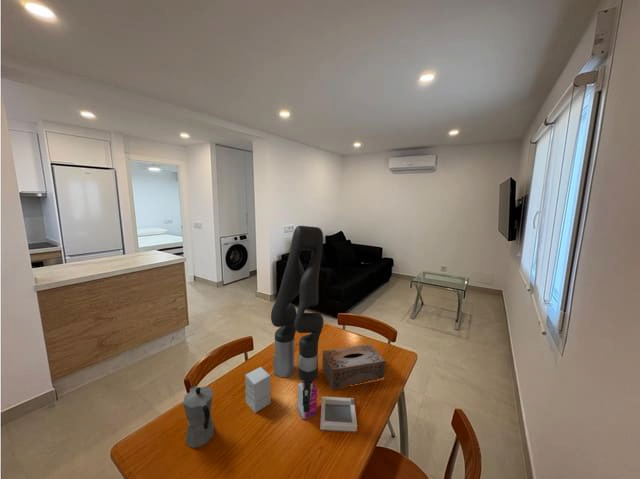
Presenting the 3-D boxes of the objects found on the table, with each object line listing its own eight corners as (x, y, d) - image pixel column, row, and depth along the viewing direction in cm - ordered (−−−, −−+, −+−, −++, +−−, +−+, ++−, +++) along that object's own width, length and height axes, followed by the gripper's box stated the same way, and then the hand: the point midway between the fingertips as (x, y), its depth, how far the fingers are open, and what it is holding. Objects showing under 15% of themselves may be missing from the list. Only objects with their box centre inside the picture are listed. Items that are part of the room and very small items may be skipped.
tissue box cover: (331, 390, 109) (332, 369, 107) (322, 369, 123) (322, 350, 121) (384, 380, 116) (385, 360, 115) (369, 361, 130) (370, 343, 128)
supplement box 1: (261, 393, 106) (261, 366, 104) (271, 403, 101) (271, 375, 99) (245, 402, 101) (244, 374, 99) (254, 414, 96) (254, 384, 94)
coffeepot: (179, 430, 88) (177, 384, 85) (207, 415, 94) (205, 372, 92) (193, 464, 77) (191, 412, 74) (224, 445, 83) (222, 396, 81)
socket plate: (320, 430, 90) (320, 423, 89) (321, 401, 102) (321, 395, 102) (356, 432, 89) (357, 425, 89) (353, 403, 102) (353, 397, 101)
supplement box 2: (303, 420, 93) (303, 393, 92) (297, 409, 98) (297, 382, 97) (317, 415, 96) (317, 388, 94) (310, 404, 101) (311, 378, 99)
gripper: (300, 352, 101) (300, 388, 104) (295, 376, 87) (295, 417, 90) (319, 353, 101) (318, 389, 103) (317, 377, 87) (316, 418, 89)
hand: (307, 402), depth 96 cm, fingers open, 8 cm apart
